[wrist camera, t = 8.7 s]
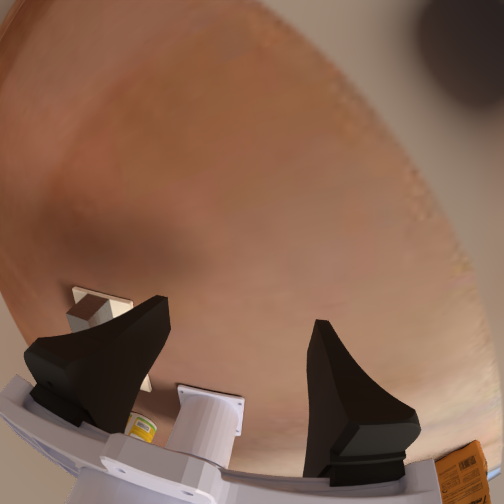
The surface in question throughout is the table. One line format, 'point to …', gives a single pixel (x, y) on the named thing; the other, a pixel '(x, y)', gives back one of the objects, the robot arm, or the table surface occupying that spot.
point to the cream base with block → (97, 313)
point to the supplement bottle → (140, 427)
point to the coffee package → (464, 476)
